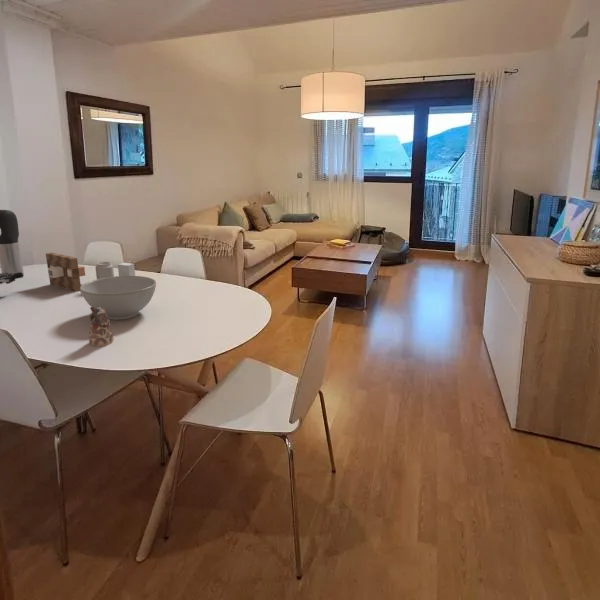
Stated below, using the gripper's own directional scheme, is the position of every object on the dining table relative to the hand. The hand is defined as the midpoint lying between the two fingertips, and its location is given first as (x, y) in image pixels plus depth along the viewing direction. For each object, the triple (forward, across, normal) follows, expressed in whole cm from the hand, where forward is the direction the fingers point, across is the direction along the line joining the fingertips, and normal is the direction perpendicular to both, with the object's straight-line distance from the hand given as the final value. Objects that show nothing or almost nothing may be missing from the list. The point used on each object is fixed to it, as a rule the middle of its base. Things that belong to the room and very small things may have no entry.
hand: (22, 274), depth 200 cm
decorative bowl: (+5, +62, -8) cm, 63 cm away
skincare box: (+29, +34, -8) cm, 45 cm away
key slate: (+17, 0, -2) cm, 17 cm away
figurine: (-17, +80, -8) cm, 83 cm away
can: (+25, +24, -8) cm, 35 cm away
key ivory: (+12, +7, -2) cm, 14 cm away
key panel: (+17, +7, -8) cm, 20 cm away
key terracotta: (+17, +14, -2) cm, 22 cm away
